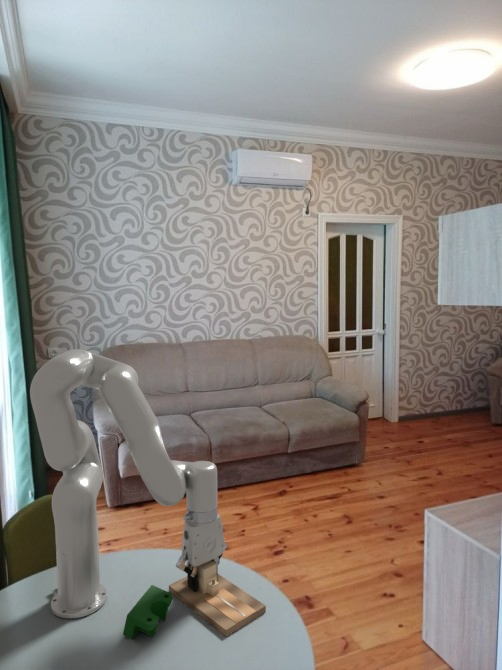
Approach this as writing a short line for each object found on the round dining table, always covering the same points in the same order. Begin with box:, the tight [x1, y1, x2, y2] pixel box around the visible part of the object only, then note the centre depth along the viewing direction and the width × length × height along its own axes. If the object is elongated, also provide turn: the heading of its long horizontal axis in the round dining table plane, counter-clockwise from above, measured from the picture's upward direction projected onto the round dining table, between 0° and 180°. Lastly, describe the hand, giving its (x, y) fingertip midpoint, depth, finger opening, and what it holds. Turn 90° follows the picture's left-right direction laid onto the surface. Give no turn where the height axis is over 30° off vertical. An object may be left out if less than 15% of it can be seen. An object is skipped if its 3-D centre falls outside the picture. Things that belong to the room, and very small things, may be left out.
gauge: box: [191, 560, 219, 596], centre depth 119 cm, size 10×4×6 cm, turn 43°
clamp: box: [122, 584, 174, 640], centre depth 107 cm, size 12×6×9 cm, turn 158°
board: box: [168, 573, 267, 638], centre depth 116 cm, size 22×12×2 cm, turn 43°
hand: (202, 583), depth 119 cm, fingers open, 5 cm apart
